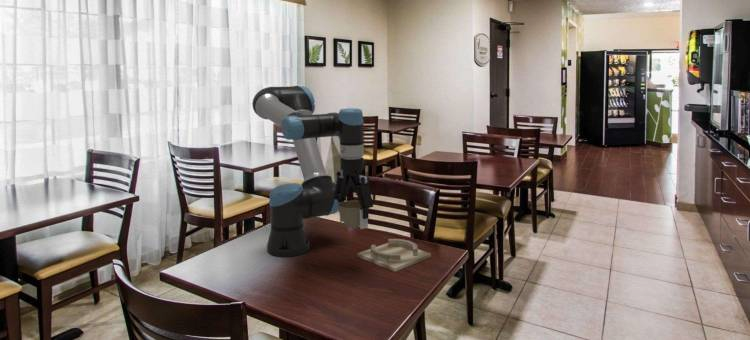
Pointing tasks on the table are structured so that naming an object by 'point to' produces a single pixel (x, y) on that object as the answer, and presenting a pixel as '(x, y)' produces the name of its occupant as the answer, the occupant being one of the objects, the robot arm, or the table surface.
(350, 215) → the flower pot
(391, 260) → the holder
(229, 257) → the table surface
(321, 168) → the robot arm
